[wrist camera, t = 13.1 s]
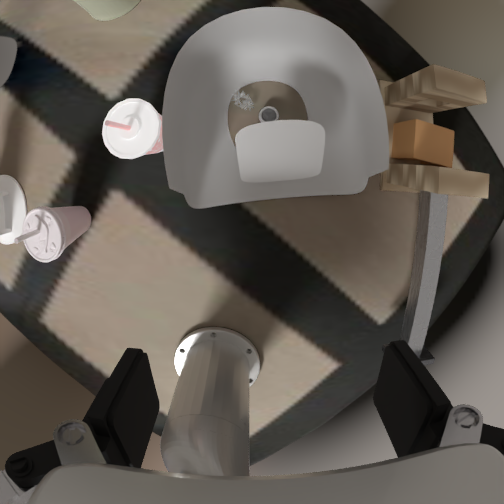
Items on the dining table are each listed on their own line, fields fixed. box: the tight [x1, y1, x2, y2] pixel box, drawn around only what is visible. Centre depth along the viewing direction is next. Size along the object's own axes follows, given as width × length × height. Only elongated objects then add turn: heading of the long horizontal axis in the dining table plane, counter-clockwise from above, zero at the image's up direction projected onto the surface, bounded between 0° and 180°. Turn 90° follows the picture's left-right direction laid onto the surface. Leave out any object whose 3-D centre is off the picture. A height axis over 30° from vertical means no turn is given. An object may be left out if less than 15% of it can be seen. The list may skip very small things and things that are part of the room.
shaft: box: [382, 190, 448, 365], centre depth 33 cm, size 22×6×5 cm, turn 1°
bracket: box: [378, 64, 489, 198], centre depth 29 cm, size 14×8×13 cm, turn 1°
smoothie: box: [14, 206, 91, 262], centre depth 31 cm, size 6×6×14 cm
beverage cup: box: [102, 99, 163, 159], centre depth 28 cm, size 6×6×14 cm
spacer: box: [391, 119, 454, 168], centre depth 31 cm, size 4×6×6 cm
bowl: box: [162, 7, 389, 209], centre depth 29 cm, size 20×19×12 cm
